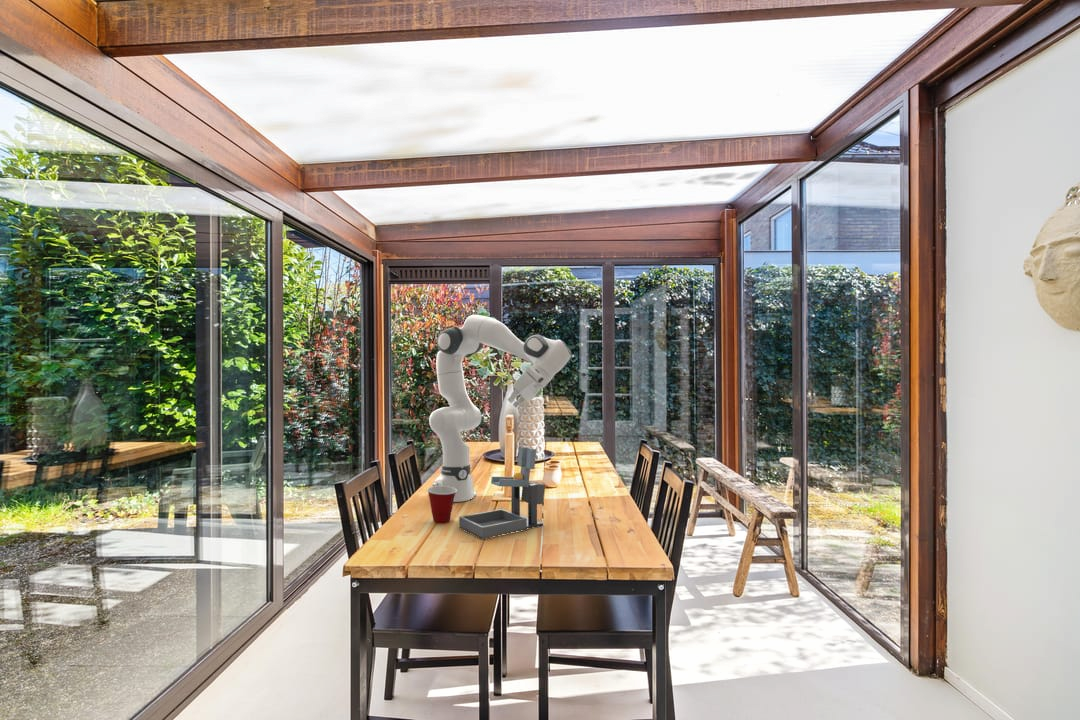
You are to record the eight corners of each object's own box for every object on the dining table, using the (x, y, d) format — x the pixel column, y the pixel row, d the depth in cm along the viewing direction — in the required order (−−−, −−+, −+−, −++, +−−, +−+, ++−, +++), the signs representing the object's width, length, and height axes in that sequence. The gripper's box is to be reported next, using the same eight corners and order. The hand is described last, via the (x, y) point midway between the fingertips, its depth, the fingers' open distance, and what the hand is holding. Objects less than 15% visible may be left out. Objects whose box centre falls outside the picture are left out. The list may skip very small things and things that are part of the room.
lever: (487, 500, 208) (493, 444, 209) (531, 499, 218) (536, 447, 220) (499, 505, 201) (506, 447, 202) (544, 504, 212) (550, 450, 213)
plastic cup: (451, 526, 207) (451, 492, 207) (422, 524, 210) (422, 491, 209) (461, 518, 218) (461, 485, 218) (433, 516, 220) (433, 484, 220)
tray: (459, 528, 206) (459, 516, 205) (502, 519, 216) (502, 508, 216) (482, 539, 192) (482, 527, 192) (526, 530, 203) (526, 518, 203)
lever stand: (505, 520, 215) (505, 479, 215) (521, 517, 219) (521, 477, 219) (526, 529, 204) (526, 486, 204) (543, 525, 208) (543, 484, 208)
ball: (511, 482, 210) (511, 472, 210) (519, 481, 212) (519, 471, 213) (516, 484, 207) (516, 474, 208) (525, 483, 210) (525, 473, 210)
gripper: (536, 378, 230) (511, 403, 228) (526, 364, 210) (500, 392, 209) (547, 388, 228) (523, 414, 227) (539, 376, 208) (512, 404, 207)
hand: (511, 404), depth 218 cm, fingers open, 8 cm apart
